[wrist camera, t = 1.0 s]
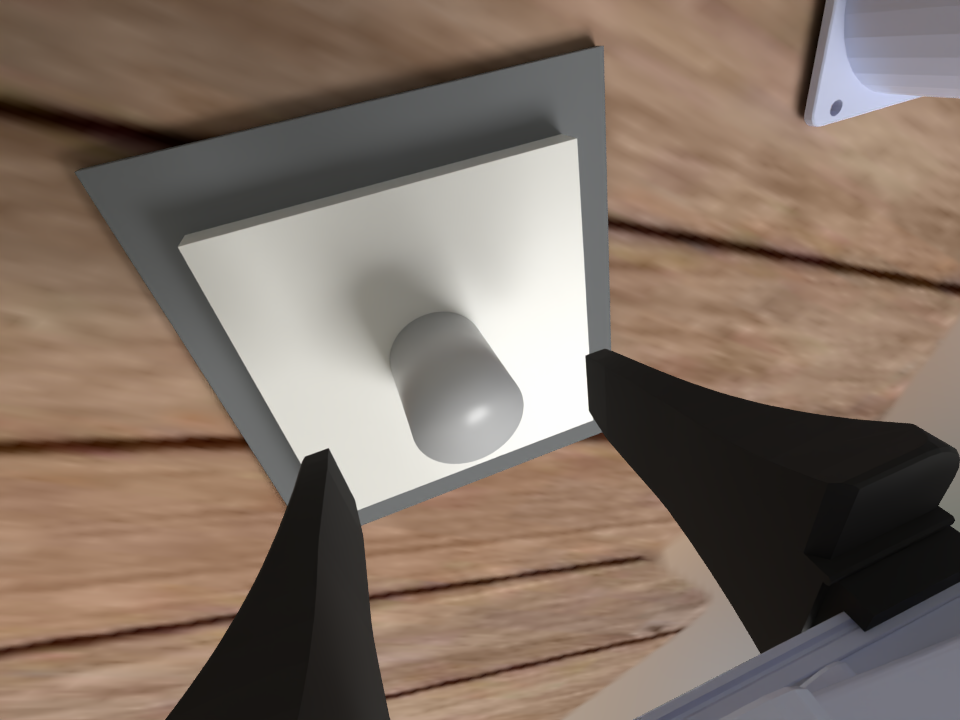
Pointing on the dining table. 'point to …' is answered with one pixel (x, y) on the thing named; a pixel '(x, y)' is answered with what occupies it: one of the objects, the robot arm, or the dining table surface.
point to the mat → (340, 168)
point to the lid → (413, 315)
